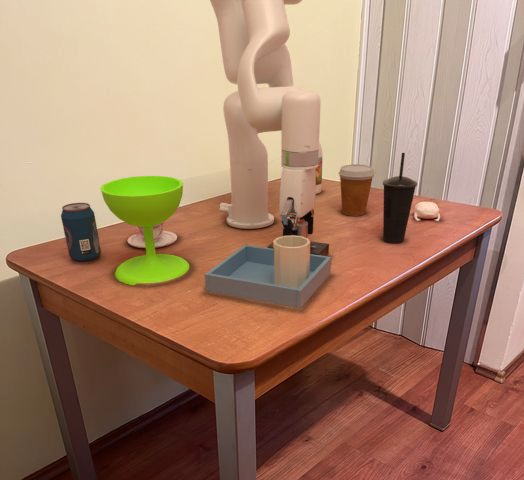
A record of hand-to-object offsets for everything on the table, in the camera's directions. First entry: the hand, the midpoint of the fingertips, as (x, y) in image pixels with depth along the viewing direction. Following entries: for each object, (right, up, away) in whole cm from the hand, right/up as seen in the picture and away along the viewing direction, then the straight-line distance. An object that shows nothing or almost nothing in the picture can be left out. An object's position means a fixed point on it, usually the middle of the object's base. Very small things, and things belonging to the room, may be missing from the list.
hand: (298, 240), depth 118 cm
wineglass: (-31, -7, -3) cm, 32 cm away
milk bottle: (+7, +25, +50) cm, 56 cm away
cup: (-2, -11, -12) cm, 17 cm away
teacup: (-35, +2, +14) cm, 37 cm away
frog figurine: (+36, +11, +26) cm, 46 cm away
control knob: (0, -1, +1) cm, 1 cm away
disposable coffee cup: (+17, +14, +31) cm, 38 cm away
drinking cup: (+24, +2, +11) cm, 26 cm away
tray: (-6, -11, -10) cm, 16 cm away
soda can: (-48, -4, +4) cm, 48 cm away
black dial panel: (0, -4, +2) cm, 4 cm away
